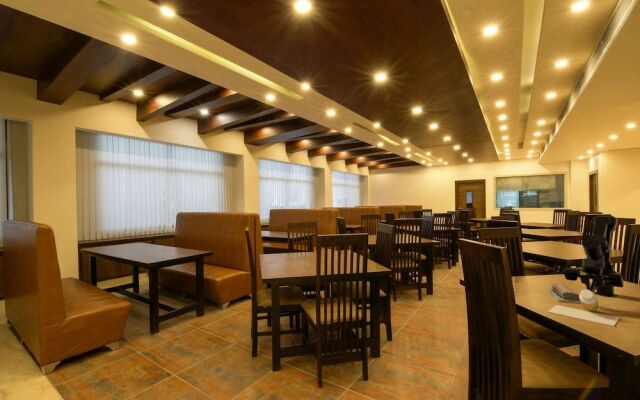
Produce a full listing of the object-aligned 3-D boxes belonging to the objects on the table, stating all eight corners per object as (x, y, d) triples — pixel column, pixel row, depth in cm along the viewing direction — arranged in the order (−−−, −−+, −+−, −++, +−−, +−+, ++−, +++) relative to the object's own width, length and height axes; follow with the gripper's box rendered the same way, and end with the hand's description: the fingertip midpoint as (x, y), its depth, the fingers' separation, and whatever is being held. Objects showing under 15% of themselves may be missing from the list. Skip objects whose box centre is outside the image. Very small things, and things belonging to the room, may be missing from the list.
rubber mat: (556, 305, 133) (556, 304, 133) (619, 318, 118) (619, 317, 118) (547, 312, 126) (547, 311, 126) (613, 326, 110) (613, 325, 110)
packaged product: (546, 282, 155) (571, 284, 151) (547, 292, 155) (571, 293, 151) (558, 292, 138) (585, 294, 134) (558, 302, 138) (586, 305, 134)
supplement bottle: (578, 304, 129) (574, 293, 124) (589, 297, 128) (585, 285, 124) (591, 314, 124) (587, 302, 120) (602, 306, 124) (599, 294, 119)
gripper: (563, 249, 137) (557, 278, 130) (621, 254, 122) (617, 286, 115) (568, 265, 142) (563, 293, 134) (625, 271, 127) (621, 303, 120)
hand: (589, 293), depth 126 cm, fingers closed
